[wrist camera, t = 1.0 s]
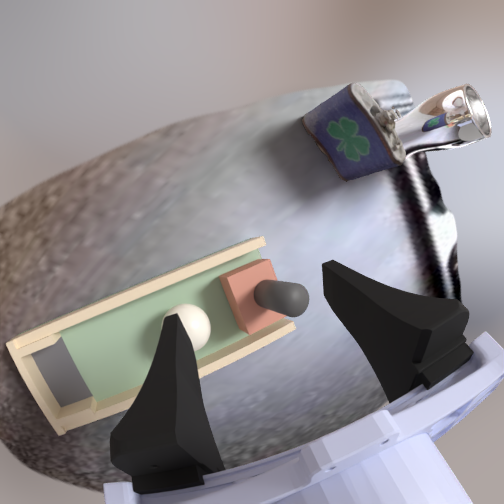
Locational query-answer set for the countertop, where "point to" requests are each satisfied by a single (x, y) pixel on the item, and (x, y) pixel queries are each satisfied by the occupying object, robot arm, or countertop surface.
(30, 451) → the countertop surface
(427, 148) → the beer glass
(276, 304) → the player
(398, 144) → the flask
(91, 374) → the pitch
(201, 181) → the countertop surface
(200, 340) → the ball
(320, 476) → the robot arm
